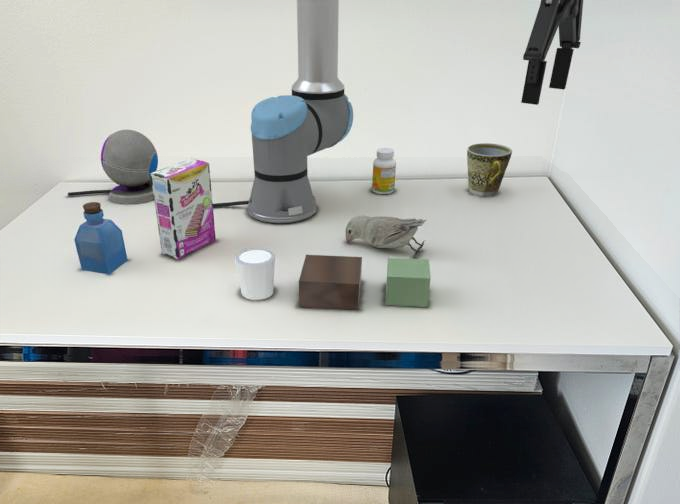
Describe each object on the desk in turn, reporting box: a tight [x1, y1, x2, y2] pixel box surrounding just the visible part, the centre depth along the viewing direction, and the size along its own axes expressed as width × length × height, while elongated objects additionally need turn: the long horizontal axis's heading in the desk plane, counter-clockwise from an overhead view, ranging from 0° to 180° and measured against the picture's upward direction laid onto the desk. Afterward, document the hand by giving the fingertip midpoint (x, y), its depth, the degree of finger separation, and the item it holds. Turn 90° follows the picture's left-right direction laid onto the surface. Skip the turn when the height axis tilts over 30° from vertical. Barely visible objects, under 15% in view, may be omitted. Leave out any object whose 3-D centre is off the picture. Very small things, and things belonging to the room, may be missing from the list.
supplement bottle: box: [371, 147, 397, 195], centre depth 146 cm, size 5×5×10 cm
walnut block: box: [298, 254, 363, 311], centre depth 106 cm, size 10×10×5 cm
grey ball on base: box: [100, 129, 159, 205], centre depth 145 cm, size 13×13×15 cm
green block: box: [385, 257, 432, 308], centre depth 105 cm, size 7×7×6 cm
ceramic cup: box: [466, 142, 513, 197], centre depth 143 cm, size 13×10×10 cm
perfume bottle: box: [73, 201, 129, 275], centre depth 115 cm, size 6×6×12 cm
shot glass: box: [234, 247, 276, 301], centre depth 107 cm, size 7×7×7 cm
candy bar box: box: [150, 158, 217, 261], centre depth 119 cm, size 11×5×16 cm, turn 145°
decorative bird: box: [345, 215, 427, 259], centre depth 120 cm, size 5×16×7 cm, turn 64°
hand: (543, 95), depth 107 cm, fingers open, 13 cm apart
